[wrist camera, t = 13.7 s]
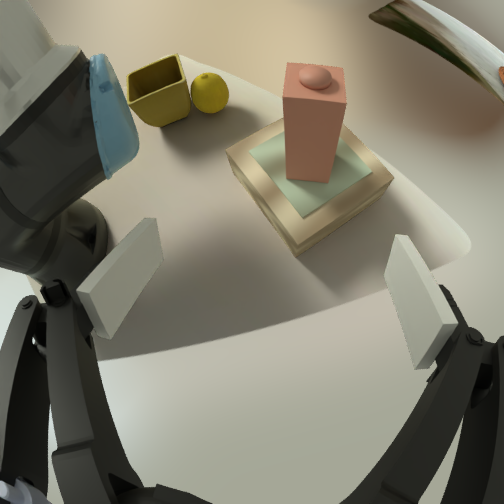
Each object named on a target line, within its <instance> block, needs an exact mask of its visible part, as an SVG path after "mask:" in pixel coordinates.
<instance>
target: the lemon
mask: <svg viewBox="0 0 504 504" xmlns="http://www.w3.org/2000/svg"><path fill="white" fill-rule="evenodd" d="M191 98H192V101H193V103H194V105H195V106H196V107H197V108H198V109H199V110H200V111H202V112H205V113H216V112H218V111H220V110H222V109H223V108H224V107H225V106H226V104H227V102H228V98H229V91H228V87H227V85H226V83H225V81H224V80H223V79H222V78H221V77H220V76H219V75H217V74H214V73H203V74H201V75H199V76H198V77H196V78H195V79H194V81H193V82H192V85H191Z"/></svg>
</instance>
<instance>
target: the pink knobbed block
mask: <svg viewBox="0 0 504 504" xmlns="http://www.w3.org/2000/svg"><path fill="white" fill-rule="evenodd" d="M346 104H347V103H346V92H345V81H344V72H343V68H339V67H332V66H323V65H314V64H302V63H287V67H286V75H285V82H284V90H283V114H284V135H285V160H286V179H294V180H303V181H313V182H321V183H328V182H329V178H330V174H331V170H332V166H333V162H334V158H335V154H336V150H337V145H338V141H339V137H340V132H341V128H342V123H343V118H344V114H345V109H346Z"/></svg>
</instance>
